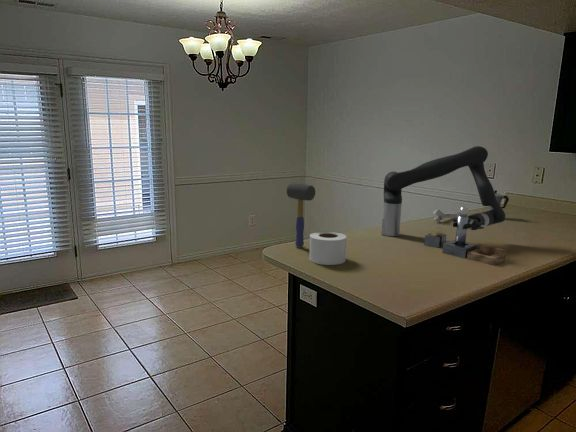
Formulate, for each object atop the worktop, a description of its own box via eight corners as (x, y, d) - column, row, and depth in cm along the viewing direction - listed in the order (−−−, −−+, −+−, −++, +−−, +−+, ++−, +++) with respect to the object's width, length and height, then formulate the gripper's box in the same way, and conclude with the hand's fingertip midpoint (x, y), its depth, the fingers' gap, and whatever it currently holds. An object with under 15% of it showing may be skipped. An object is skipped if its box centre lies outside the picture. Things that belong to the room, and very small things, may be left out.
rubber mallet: (284, 246, 206) (285, 182, 200) (294, 243, 211) (295, 181, 205) (304, 251, 198) (306, 185, 192) (314, 248, 203) (317, 184, 197)
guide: (431, 241, 219) (432, 232, 218) (445, 244, 215) (446, 234, 214) (424, 245, 212) (425, 235, 211) (438, 247, 208) (439, 237, 207)
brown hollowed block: (466, 258, 192) (467, 247, 191) (477, 254, 198) (478, 244, 197) (493, 265, 183) (495, 254, 182) (504, 261, 189) (505, 250, 188)
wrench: (458, 222, 280) (434, 223, 260) (455, 221, 281) (431, 222, 261) (460, 210, 279) (436, 209, 259) (457, 209, 280) (433, 209, 260)
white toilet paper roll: (308, 254, 194) (309, 230, 192) (343, 255, 194) (344, 231, 191) (309, 265, 179) (310, 239, 177) (347, 266, 178) (348, 240, 176)
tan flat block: (439, 240, 221) (440, 226, 219) (444, 241, 219) (446, 227, 217) (429, 245, 212) (430, 230, 210) (435, 246, 210) (436, 231, 208)
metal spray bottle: (455, 247, 197) (459, 208, 193) (454, 244, 201) (458, 206, 198) (465, 248, 196) (469, 209, 192) (464, 245, 200) (468, 207, 196)
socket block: (442, 252, 200) (443, 243, 199) (454, 248, 207) (455, 239, 206) (465, 258, 192) (466, 248, 191) (477, 254, 199) (478, 244, 198)
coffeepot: (478, 217, 283) (481, 189, 279) (486, 215, 288) (489, 188, 285) (502, 221, 271) (505, 192, 267) (509, 219, 276) (513, 191, 273)
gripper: (464, 210, 210) (445, 214, 199) (493, 215, 200) (475, 220, 189) (462, 225, 212) (443, 230, 201) (491, 231, 201) (473, 237, 190)
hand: (459, 225), depth 195 cm, fingers closed on metal spray bottle, 4 cm apart
